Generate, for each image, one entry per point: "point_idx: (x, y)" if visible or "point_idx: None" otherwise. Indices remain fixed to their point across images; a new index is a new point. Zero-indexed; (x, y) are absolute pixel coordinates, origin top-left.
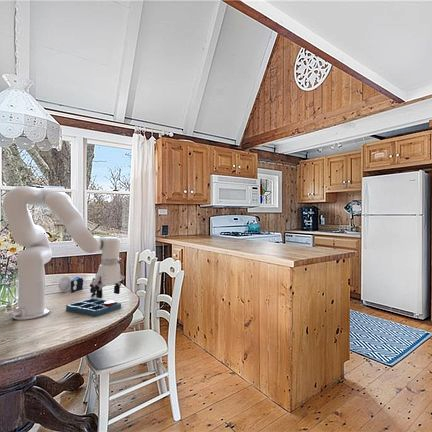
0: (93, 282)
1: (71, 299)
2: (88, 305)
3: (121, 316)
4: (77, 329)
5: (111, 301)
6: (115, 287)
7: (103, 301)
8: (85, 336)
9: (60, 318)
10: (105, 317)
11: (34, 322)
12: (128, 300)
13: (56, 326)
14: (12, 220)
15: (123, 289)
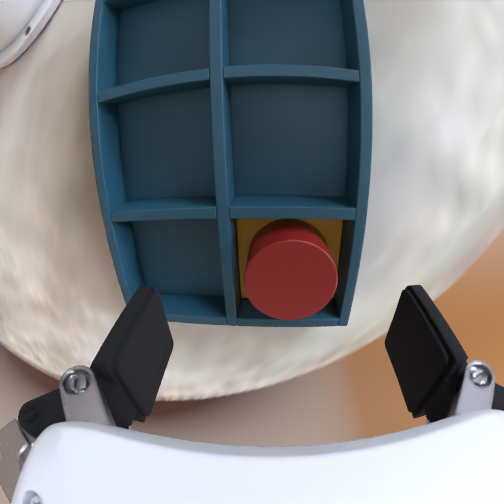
0: (6, 463)
1: None
2: (204, 83)
3: (227, 386)
4: (61, 340)
5: (314, 283)
6: (426, 365)
7: (357, 111)
8: None
9: (36, 153)
10: (173, 344)
11: None
12: (492, 195)
13: (16, 252)
14: None
15: None
